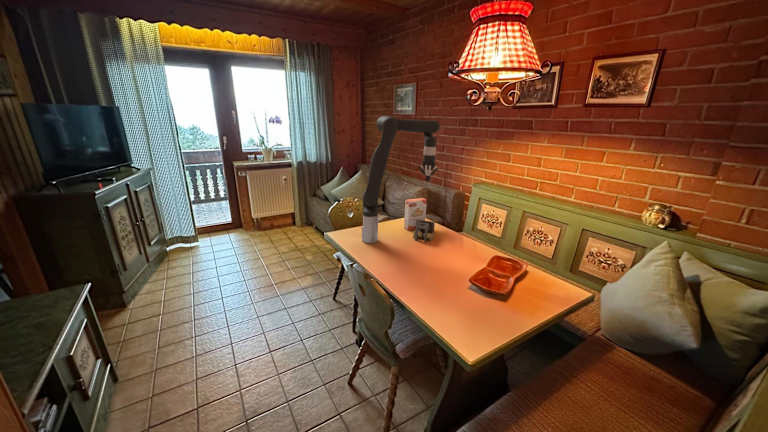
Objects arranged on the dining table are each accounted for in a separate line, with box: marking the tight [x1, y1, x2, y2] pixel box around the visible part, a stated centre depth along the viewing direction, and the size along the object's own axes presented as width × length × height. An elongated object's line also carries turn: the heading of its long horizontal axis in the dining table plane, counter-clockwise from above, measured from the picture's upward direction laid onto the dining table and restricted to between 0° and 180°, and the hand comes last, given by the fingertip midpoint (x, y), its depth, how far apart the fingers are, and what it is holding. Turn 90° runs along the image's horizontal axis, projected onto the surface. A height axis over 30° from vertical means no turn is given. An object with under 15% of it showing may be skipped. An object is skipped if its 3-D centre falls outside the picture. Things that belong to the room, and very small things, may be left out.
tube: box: [412, 229, 435, 242], centre depth 191 cm, size 12×5×5 cm, turn 66°
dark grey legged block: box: [414, 220, 436, 243], centre depth 190 cm, size 12×12×10 cm
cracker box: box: [403, 197, 428, 231], centre depth 205 cm, size 14×6×21 cm, turn 115°
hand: (427, 181), depth 191 cm, fingers closed
